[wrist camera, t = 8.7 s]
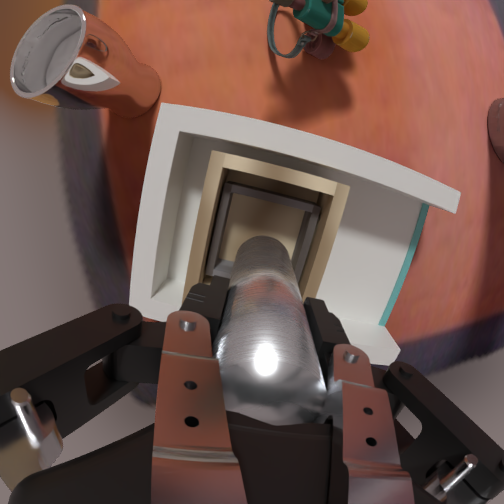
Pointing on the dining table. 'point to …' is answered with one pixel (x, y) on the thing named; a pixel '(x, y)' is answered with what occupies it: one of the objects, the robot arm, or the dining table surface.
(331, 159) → the bay
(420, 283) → the dining table surface
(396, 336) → the dining table surface
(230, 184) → the box
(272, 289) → the handle peg
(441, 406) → the robot arm
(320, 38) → the binoculars
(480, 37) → the dining table surface
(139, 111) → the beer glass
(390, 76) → the dining table surface
